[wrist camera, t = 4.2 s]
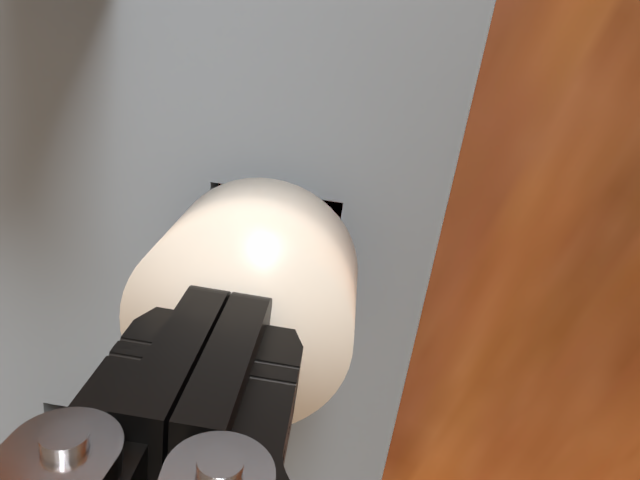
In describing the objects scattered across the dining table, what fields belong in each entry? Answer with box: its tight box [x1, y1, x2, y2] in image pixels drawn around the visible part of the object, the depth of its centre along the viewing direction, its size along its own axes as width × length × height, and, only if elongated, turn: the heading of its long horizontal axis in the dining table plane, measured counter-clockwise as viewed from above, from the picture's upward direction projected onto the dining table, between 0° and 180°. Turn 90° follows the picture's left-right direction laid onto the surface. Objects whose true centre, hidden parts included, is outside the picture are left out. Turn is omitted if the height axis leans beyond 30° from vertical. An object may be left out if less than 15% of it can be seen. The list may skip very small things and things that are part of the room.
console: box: [0, 0, 496, 480], centre depth 16 cm, size 12×24×4 cm, turn 171°
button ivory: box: [119, 177, 358, 424], centre depth 13 cm, size 4×4×6 cm
